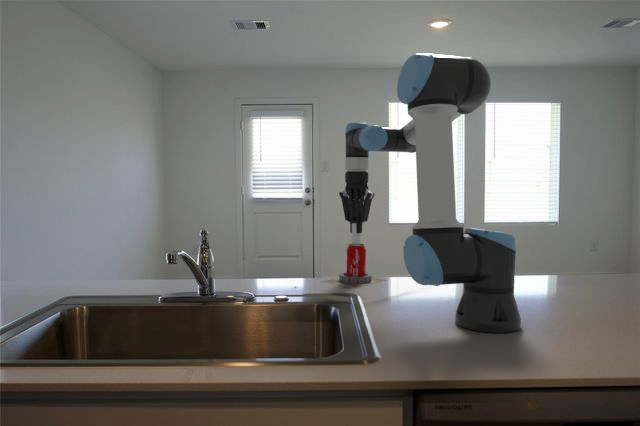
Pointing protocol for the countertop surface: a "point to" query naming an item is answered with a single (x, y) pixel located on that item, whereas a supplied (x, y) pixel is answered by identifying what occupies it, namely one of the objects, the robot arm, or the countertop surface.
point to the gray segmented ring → (355, 278)
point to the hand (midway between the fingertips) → (356, 242)
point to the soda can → (356, 260)
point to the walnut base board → (336, 281)
